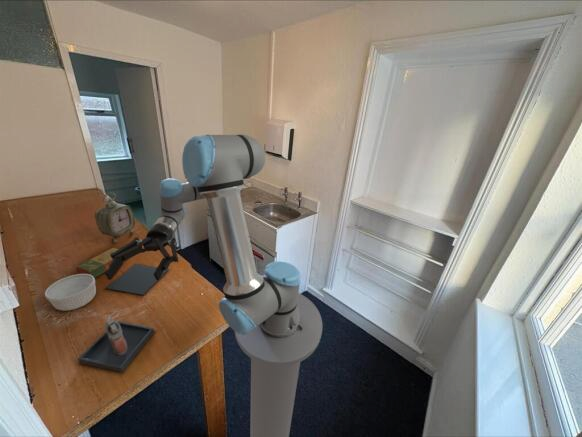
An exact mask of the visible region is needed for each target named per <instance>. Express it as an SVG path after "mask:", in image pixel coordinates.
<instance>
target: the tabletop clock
mask: <svg viewBox="0 0 582 437" xmlns="http://www.w3.org/2000/svg"><path fill="white" fill-rule="evenodd" d="M109 195H114V197H113V198H108V200H105V198H106V197H107V196H109ZM116 198H117V195H116V193H114V192H108V193H106V194H104V195H103V197H102V202H104V203H105V205H104V206H102V207H101V208H99V209H96V211H94V219H95V224H96V226H97V229H98V230H99V232H100V234H102V235H105V236H109V237H112V238H113V240H112V242H113V243H115V244H116V243H117V242H118V240H117V239H116V238H117V237H120V236H122V235H124V234H125V233H128V232H129V233H130V234H134V230H133V228H135V221H136V220H135V216H134V212H133V209H132V207H131V205H128V204H122V203H117V202H116V201H114V200H115V199H116Z"/></svg>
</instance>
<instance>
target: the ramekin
mask: <svg viewBox="0 0 582 437" xmlns="http://www.w3.org/2000/svg"><path fill="white" fill-rule="evenodd" d="M96 294H97V286H96V279H95V278H94V277H93V276H92V275H90V274H78V273H76V274H72V275H69V276H66V277H63V278H60V279H58V280H57V281H55V282H53V283H52V284H50V285H49V286H48V287H47V288H46V290H45V291H44V296H45V298H46V300H47V301H49V302H50V304H51V305H52V306H53V307H54V309H56V310H58V311H64V312H65V311H73V310H77V309H79V308H82V307H84V306H86V305H87V304H89V303H90V302H91V301H92V300H93V299H94V298H95V297H96Z"/></svg>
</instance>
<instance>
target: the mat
mask: <svg viewBox="0 0 582 437" xmlns="http://www.w3.org/2000/svg"><path fill="white" fill-rule="evenodd" d="M156 269H157V266H156V267H155V266H149V265H143V264H138V263H135V264H134V265H132V266H131V267H130V268H128V270H125V272H124V273H122V274H121V275H120V276H118V278H116V279H114V280H113V281H112V282H111V283H110V284H108V285H107V286H105V290H110V291H115V292H120V293H124V294H125V293H126V294H132V295H137V296H144V295H145V294H146V293H147V292H148V291H149V290H150V289H151V288H153V287H154V285H156V283H158V281H159V280H156V278H155V276H154V272H155V271H156ZM167 272H169V268H168V269H167V270H164V271H163V273H162V275H161V277H160V279H161V278H162V277H164V276H165V275H166V274H167Z"/></svg>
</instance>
